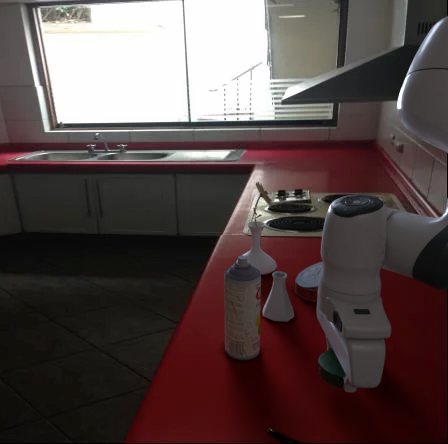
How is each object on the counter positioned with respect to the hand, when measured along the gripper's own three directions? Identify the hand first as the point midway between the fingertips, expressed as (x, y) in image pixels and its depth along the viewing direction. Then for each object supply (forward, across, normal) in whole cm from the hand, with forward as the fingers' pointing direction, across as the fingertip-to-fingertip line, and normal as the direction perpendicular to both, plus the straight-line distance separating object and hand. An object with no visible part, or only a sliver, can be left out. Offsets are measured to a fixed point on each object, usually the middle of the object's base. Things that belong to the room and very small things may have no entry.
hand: (340, 372), depth 70 cm
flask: (+4, -25, -6) cm, 26 cm away
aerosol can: (+4, -12, -15) cm, 19 cm away
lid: (-2, 0, 0) cm, 2 cm away
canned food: (+4, -36, +5) cm, 36 cm away
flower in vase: (+4, -50, -7) cm, 51 cm away
